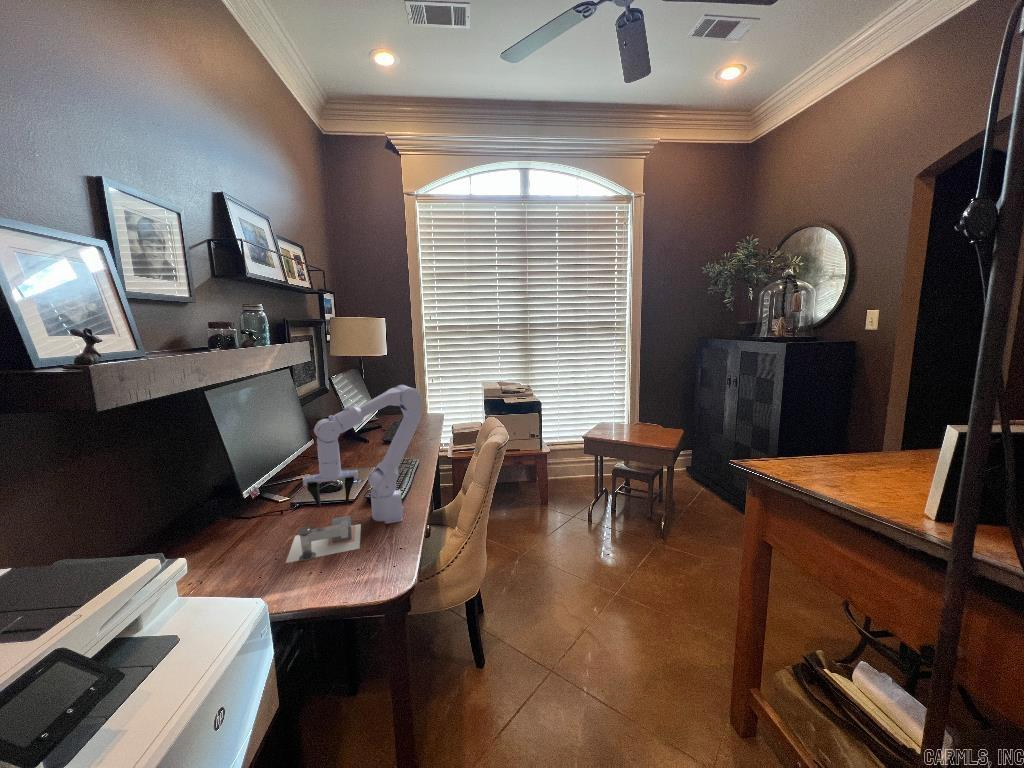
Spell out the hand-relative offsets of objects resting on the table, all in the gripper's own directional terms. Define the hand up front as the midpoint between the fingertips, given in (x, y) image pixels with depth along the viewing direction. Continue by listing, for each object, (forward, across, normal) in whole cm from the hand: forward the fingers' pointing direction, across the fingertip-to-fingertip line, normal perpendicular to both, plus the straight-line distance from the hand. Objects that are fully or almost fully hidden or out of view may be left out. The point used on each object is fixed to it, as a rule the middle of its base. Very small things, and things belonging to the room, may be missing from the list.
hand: (333, 503), depth 114 cm
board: (+9, +2, +6) cm, 11 cm away
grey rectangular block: (+8, -2, +4) cm, 9 cm away
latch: (+8, +2, +12) cm, 14 cm away
